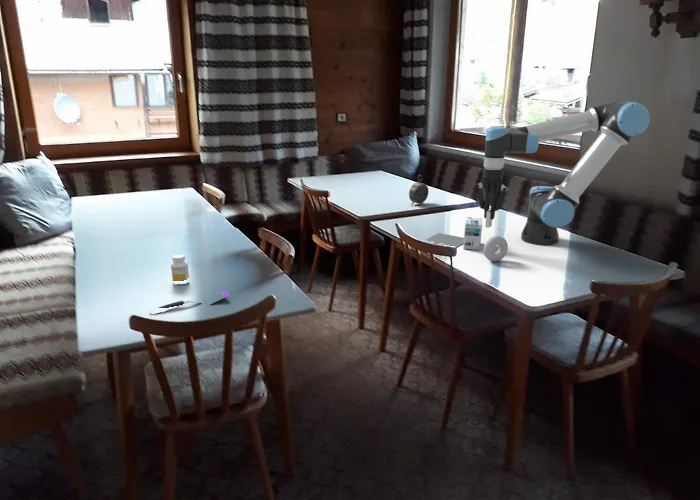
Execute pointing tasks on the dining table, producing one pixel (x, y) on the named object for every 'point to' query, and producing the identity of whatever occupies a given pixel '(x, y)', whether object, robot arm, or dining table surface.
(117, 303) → the dining table surface
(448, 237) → the mat
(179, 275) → the supplement bottle
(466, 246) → the light bulb box
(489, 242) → the donut
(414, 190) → the alarm clock
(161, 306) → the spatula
